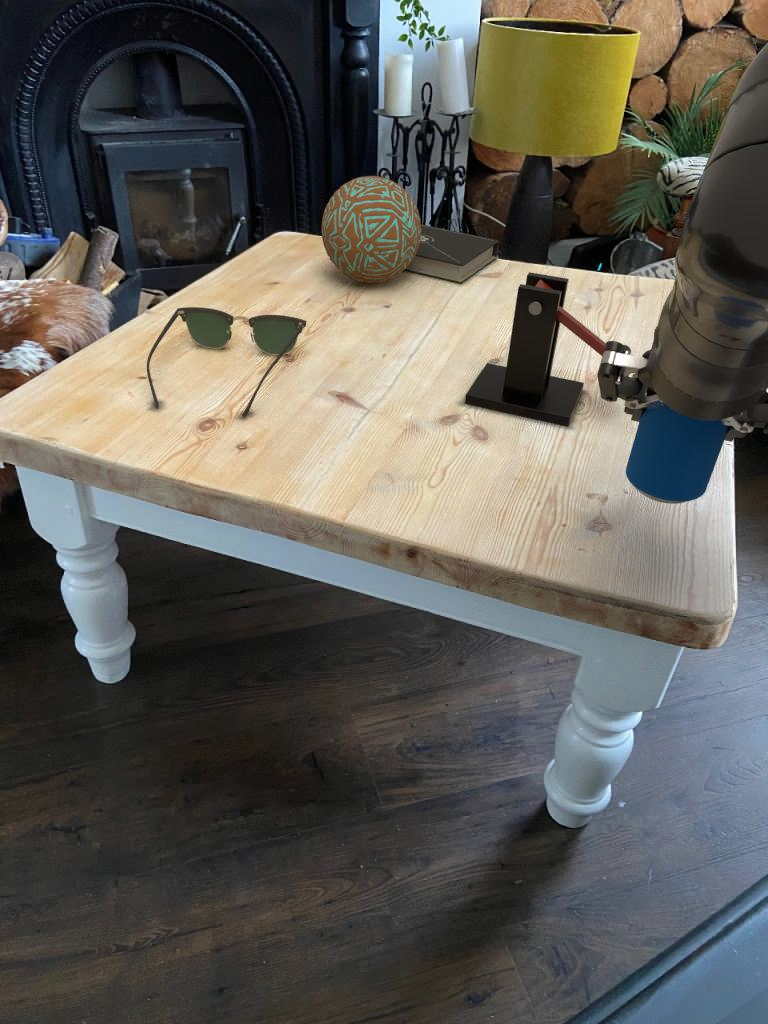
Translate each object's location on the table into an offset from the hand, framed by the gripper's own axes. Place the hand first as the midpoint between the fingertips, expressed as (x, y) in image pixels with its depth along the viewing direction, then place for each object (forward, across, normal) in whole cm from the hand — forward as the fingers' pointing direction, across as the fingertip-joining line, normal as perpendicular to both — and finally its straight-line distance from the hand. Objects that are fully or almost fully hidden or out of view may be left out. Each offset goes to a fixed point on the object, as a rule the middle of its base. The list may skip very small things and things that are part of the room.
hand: (682, 419), depth 60 cm
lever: (+18, +12, -12) cm, 25 cm away
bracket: (+24, +16, -6) cm, 29 cm away
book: (+52, +44, -34) cm, 77 cm away
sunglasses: (+16, +50, +2) cm, 53 cm away
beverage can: (+3, 0, +5) cm, 6 cm away
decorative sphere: (+43, +47, -25) cm, 69 cm away
